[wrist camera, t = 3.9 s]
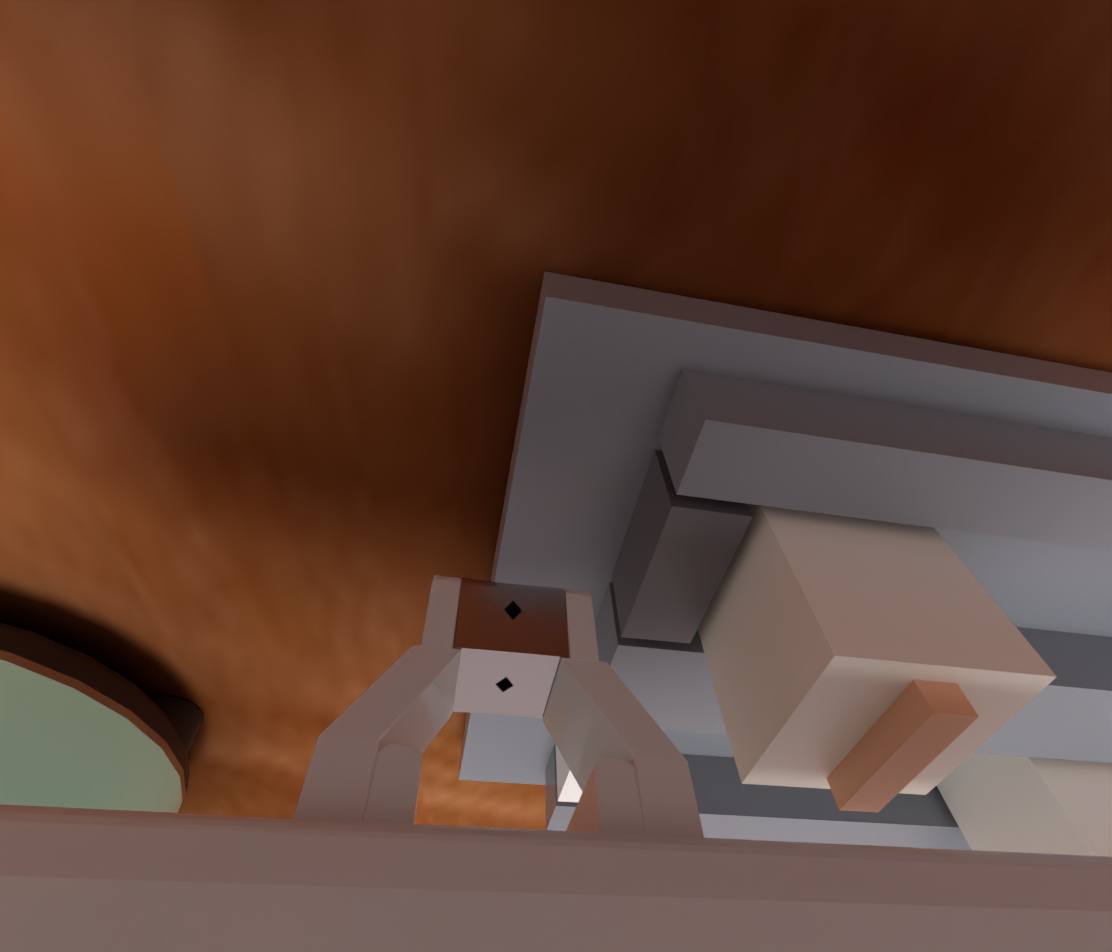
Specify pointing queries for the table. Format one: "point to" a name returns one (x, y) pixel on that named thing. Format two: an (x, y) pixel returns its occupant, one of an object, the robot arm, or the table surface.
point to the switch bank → (799, 484)
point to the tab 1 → (859, 657)
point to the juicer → (86, 732)
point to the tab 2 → (1032, 804)
